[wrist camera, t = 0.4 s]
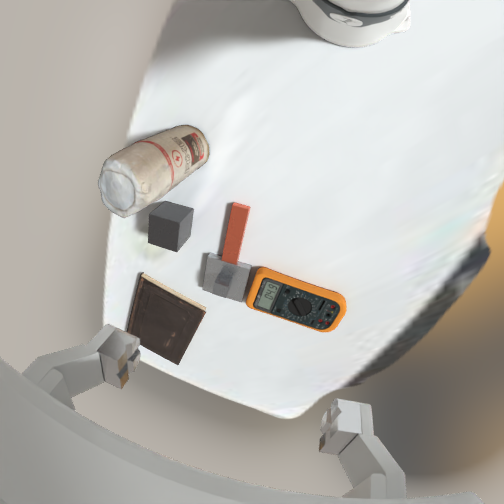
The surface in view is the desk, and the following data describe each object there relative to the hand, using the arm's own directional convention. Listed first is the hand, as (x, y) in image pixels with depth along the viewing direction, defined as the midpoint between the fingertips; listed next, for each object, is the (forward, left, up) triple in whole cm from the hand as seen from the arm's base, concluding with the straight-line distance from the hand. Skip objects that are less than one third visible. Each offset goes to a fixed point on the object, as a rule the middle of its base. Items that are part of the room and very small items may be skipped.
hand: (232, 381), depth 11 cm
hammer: (+19, -7, -39) cm, 44 cm away
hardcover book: (+44, -20, -40) cm, 63 cm away
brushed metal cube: (+16, -18, -39) cm, 46 cm away
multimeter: (+25, +7, -39) cm, 47 cm away
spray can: (+3, -18, -39) cm, 43 cm away
